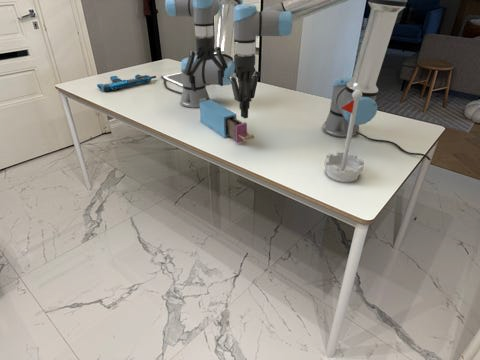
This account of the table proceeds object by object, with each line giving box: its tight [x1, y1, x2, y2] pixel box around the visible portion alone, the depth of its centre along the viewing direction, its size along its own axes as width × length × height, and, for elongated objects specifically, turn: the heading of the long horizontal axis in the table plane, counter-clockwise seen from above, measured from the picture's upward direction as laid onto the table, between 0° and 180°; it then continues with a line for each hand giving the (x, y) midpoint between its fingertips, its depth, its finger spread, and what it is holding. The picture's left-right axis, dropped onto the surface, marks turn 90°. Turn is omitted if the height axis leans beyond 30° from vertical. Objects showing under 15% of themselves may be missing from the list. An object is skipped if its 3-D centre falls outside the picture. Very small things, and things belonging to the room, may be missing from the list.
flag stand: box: [323, 90, 365, 183], centre depth 111 cm, size 13×13×30 cm
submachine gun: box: [96, 74, 157, 92], centre depth 207 cm, size 34×4×25 cm
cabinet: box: [199, 99, 237, 139], centre depth 150 cm, size 21×6×9 cm, turn 34°
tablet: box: [160, 72, 209, 88], centre depth 213 cm, size 32×20×1 cm, turn 41°
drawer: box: [226, 117, 255, 144], centre depth 142 cm, size 25×5×8 cm, turn 34°
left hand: (207, 87), depth 150 cm, fingers open, 13 cm apart
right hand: (244, 117), depth 132 cm, fingers closed
